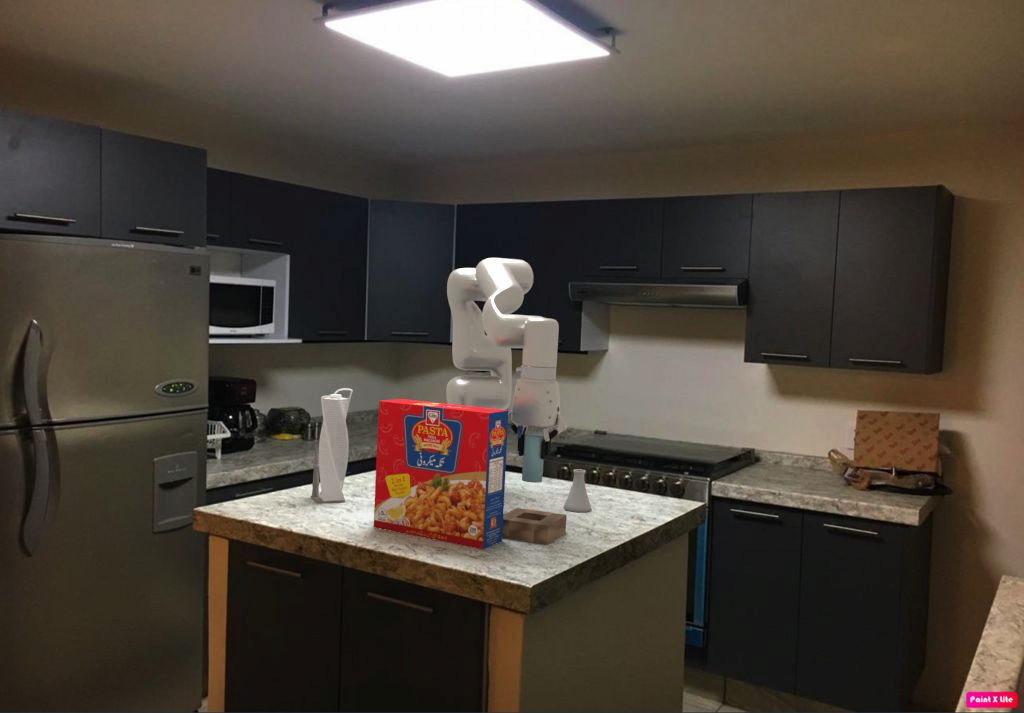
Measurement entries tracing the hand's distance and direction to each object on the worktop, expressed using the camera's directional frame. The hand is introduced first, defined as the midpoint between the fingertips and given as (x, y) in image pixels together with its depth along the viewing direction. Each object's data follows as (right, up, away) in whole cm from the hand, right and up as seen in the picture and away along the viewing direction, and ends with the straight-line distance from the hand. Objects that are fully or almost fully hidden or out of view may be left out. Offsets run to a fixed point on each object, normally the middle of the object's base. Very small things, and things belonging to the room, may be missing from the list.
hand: (533, 455), depth 186 cm
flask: (+12, -17, +28) cm, 34 cm away
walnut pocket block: (-1, -17, 0) cm, 17 cm away
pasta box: (-21, -17, -3) cm, 27 cm away
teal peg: (0, -5, 0) cm, 5 cm away
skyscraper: (-50, -14, +25) cm, 57 cm away
